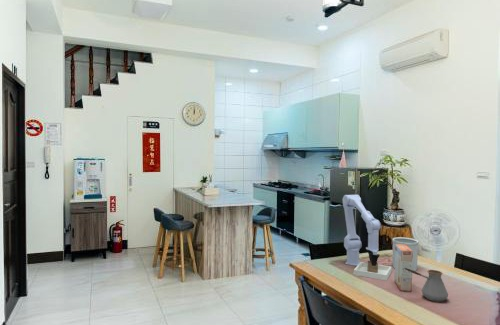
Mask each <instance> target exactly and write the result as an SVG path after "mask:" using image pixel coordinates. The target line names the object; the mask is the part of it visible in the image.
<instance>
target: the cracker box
mask: <svg viewBox="0 0 500 325" xmlns="http://www.w3.org/2000/svg"><path fill="white" fill-rule="evenodd" d="M412 257H413V251H412V250H411V249H410V248H409V247H408V246H407V245H403V244H396V245H395V268H394V283H395V284H396V286H397V288H398V290H399V291H402V292H403V291H404V292H412V290H413V287H412V286H413V284H412V283H413V273H412V272H410V271H408V270H406V269H405V268H407V269H410V270H412ZM403 269H404V270H403ZM405 270H406V271H405ZM403 271H404V272H403Z"/></svg>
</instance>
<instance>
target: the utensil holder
mask: <svg viewBox="0 0 500 325" xmlns="http://www.w3.org/2000/svg"><path fill="white" fill-rule="evenodd" d="M391 242H392V268H394V269H395V245H396V244H403V245H407V246H408V247H409V248H410V249H411V250H412V251H413V257H412V270H413V271H416V272H417V270H418V254H419V253H418V251H419V244H420V243H419V240H418V239H415V238H411V237H401V236H399V237H398V236H397V237H392V240H391Z"/></svg>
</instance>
